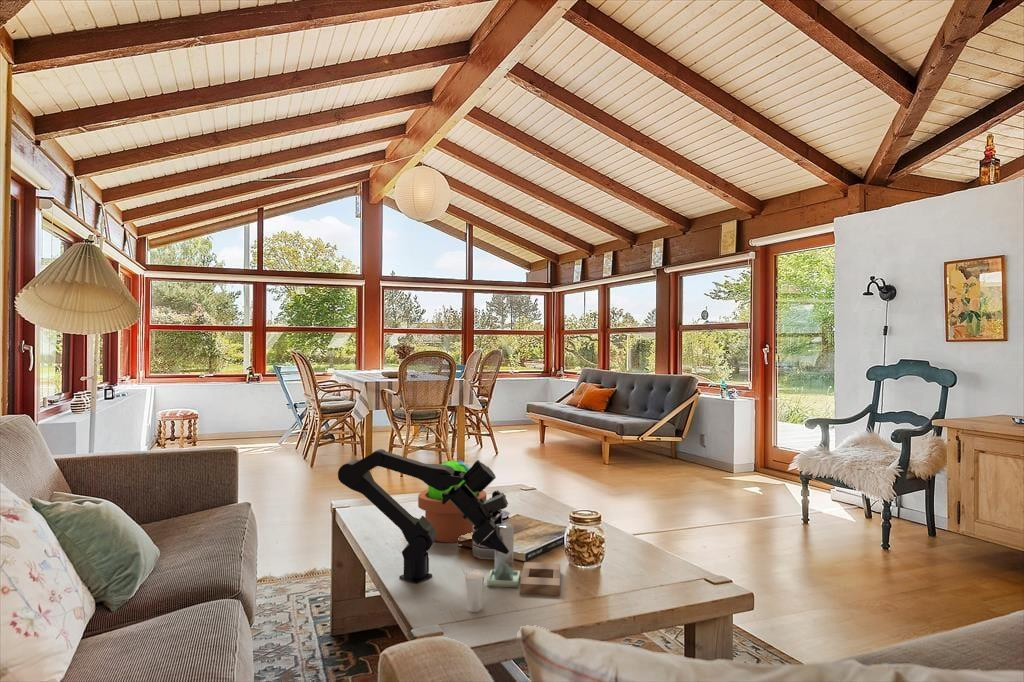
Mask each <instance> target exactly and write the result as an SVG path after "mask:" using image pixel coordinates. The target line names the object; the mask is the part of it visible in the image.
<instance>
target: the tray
mask: <svg viewBox="0 0 1024 682" xmlns="http://www.w3.org/2000/svg"><path fill="white" fill-rule="evenodd" d="M520 580H521V570H513V580H512V581H505V580H494V569H490V571H489V573H488V577H487V580H486V587H494V588H495V587H496V588H499V587H500V588H519V585H520Z"/></svg>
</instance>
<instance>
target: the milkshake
mask: <svg viewBox="0 0 1024 682" xmlns="http://www.w3.org/2000/svg"><path fill="white" fill-rule="evenodd" d="M461 569H462V571H463V574H464V578H465V588H466V589H465V591H466V593H465V594H466V607H467V608H466V609H467V611H468V612H469V613H470V612H471V613H478V612H480V611H481V610H482V604H483V592H484V591H483V590H484V582H485V574H484V572H483V571H482V570H480V569H476V568H473V569H470V570H468V571H467V572H466V573H465V570H464V569H463V567H461Z"/></svg>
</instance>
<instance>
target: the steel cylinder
mask: <svg viewBox="0 0 1024 682" xmlns="http://www.w3.org/2000/svg"><path fill="white" fill-rule="evenodd" d="M496 526H497V527H498V536H499V537H500V538H501V540H502V541H503V543H504V544H505V545H506V547H507V548H508V550H509V552H508V553H507V554H504V553H502V552H499V551H497V550H495V559H494V561H493V562H494V568H493V570H494V580H505V581H512V580H513V571H514V545H515V543H514V542H515V540H514V537H515V535H514V533H515V531H514V530H515V529H514V528H515V526H514V524H511V523H509V524H507V523H501V524H497V525H496Z"/></svg>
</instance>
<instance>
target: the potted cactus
mask: <svg viewBox="0 0 1024 682" xmlns="http://www.w3.org/2000/svg"><path fill="white" fill-rule="evenodd" d="M440 465H447V466H450V467H452V468H453V469H454V470H458V471H463V472H467V471H468V470H469V469H470V468H471V466H469V465H468V464H467V463H465V462H464V461H463V460H460V459H459V460H457V461H456V459H454V460H449V461H448V460H446V461H444V462H441V463H440ZM463 482H464V480H463V481H461V482H460V483H459V484H458V485H454V486H458V487H459V486H460V485H461V484H462V483H463ZM465 485H466V484H465ZM454 486H451V487H450V488H449V489H447V490H445V491H439V490H436V489H435V488H433V487H431V486H429V485H427V487H428V488H427V489H426V490H423V491H421V492H420V493H418V496H417V499H418V500H417V506H418V508H419V509H420V510H421V511H425V512H424V513H425V514H424V515H425V516H424V517H425V518H426V519H427V521H428V522H429V523H431V524H433V525H434V526H433V528H434V529H435V531H436V539H435V541H434V542H440V543H452V544H453V543H454V544H455V543H461V542H460V541H459V540H458V538H459V536H461V535H465V534H467V533H471V532H473V524H472V523H471V522H470V521H469V520H468V519H467V518H466V519H464V518H463V514H462V513H461V511H460V510H459V509H458V508H457V507H456V506H455V505H454V504H453V503H452V502H451V501H450V500H448V501H447V502H446V503H445V504H442V494H443V492H449V491H450V490H451V489H452V488H453V487H454ZM466 486H467V485H466ZM467 487H468V486H467ZM468 488H469V487H468ZM469 489H470V488H469ZM471 491H472V490H471ZM472 492H473V491H472ZM473 493H474V494H475V496H476V497H477V498H478V499H479V498H483V499H484V500H485V501H486V500H487V492H486V491H485V490H483V491H482V492H478V491H477V492H473Z"/></svg>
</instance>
